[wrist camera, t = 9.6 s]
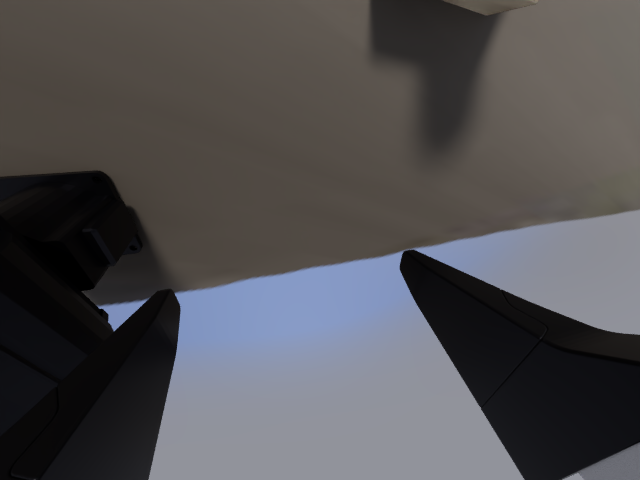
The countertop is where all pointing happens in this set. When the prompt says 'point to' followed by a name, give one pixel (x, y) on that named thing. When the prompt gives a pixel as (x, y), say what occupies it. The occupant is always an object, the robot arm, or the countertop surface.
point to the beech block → (491, 5)
